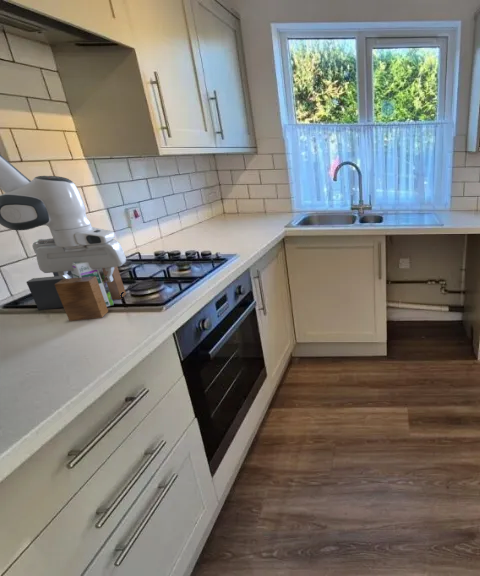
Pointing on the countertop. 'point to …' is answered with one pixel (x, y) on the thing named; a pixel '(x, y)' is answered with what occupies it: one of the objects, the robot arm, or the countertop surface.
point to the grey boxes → (46, 291)
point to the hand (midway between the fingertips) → (91, 283)
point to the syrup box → (85, 271)
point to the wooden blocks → (87, 295)
